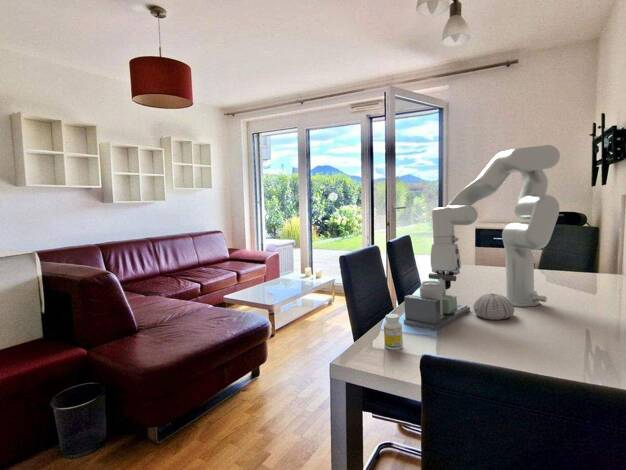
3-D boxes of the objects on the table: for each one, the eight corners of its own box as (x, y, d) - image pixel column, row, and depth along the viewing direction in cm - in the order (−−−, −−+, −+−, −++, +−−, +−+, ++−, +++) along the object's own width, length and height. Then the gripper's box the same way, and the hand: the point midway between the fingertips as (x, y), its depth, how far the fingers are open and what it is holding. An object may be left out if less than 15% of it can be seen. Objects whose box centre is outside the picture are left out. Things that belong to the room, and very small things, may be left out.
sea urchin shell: (474, 321, 128) (473, 298, 127) (472, 309, 140) (472, 289, 140) (517, 323, 123) (516, 299, 122) (512, 311, 135) (511, 289, 135)
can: (421, 318, 129) (420, 284, 128) (420, 312, 136) (418, 280, 135) (444, 318, 127) (442, 284, 126) (441, 311, 134) (440, 279, 133)
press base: (470, 310, 139) (469, 286, 138) (435, 330, 121) (433, 302, 120) (440, 305, 148) (439, 282, 147) (403, 323, 130) (402, 297, 129)
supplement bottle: (397, 351, 107) (396, 319, 106) (381, 348, 110) (379, 316, 110) (406, 345, 111) (404, 314, 110) (390, 342, 115) (388, 312, 114)
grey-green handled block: (458, 309, 134) (456, 275, 133) (450, 314, 130) (448, 278, 129) (433, 305, 142) (431, 272, 141) (425, 309, 138) (423, 275, 137)
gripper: (468, 239, 134) (470, 288, 135) (430, 238, 145) (433, 284, 146) (458, 242, 129) (461, 293, 130) (420, 241, 140) (423, 288, 141)
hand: (446, 288), depth 138 cm, fingers closed
